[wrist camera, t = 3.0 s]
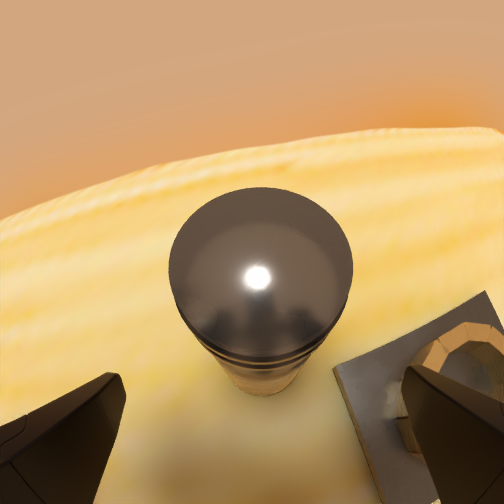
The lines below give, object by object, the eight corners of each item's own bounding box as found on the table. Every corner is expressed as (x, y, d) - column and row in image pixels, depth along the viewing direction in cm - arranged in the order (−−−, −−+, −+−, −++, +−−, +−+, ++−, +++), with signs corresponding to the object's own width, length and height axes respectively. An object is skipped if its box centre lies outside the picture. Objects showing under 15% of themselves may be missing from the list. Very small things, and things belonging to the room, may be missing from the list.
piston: (237, 406, 17) (187, 380, 6) (216, 338, 19) (153, 210, 8) (310, 383, 18) (388, 311, 7) (285, 317, 20) (310, 170, 9)
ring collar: (388, 521, 12) (410, 535, 9) (332, 368, 18) (346, 357, 15) (525, 417, 14) (554, 410, 11) (478, 295, 20) (502, 275, 17)
